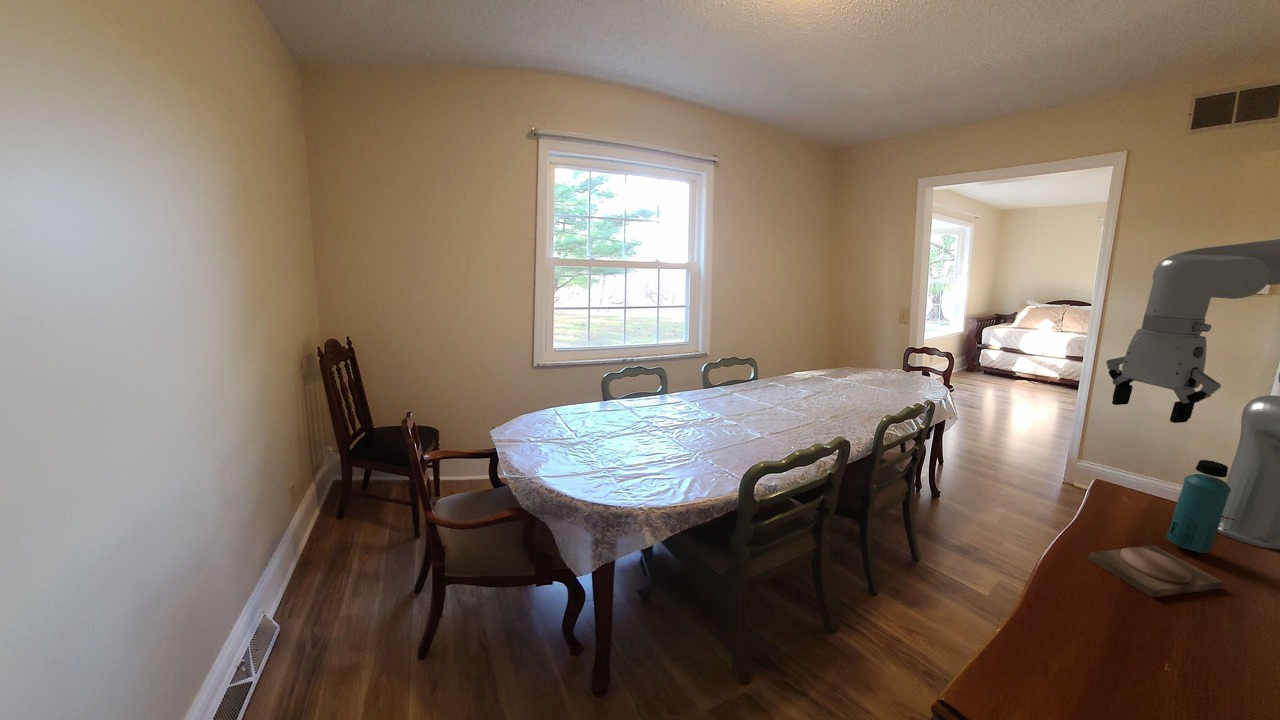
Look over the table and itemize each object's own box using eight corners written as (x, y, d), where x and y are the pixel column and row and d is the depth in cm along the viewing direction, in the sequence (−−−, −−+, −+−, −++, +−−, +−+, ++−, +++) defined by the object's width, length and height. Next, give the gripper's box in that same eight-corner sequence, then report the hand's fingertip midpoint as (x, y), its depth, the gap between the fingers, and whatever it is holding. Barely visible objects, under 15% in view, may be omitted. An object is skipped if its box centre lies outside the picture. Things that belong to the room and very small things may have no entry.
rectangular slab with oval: (1151, 551, 101) (1154, 542, 100) (1220, 588, 90) (1224, 577, 90) (1088, 558, 98) (1090, 549, 98) (1151, 597, 88) (1155, 586, 87)
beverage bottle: (1218, 561, 98) (1251, 472, 93) (1179, 557, 99) (1209, 468, 94) (1190, 542, 104) (1219, 457, 99) (1154, 538, 105) (1180, 454, 100)
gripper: (1251, 334, 81) (1221, 428, 86) (1134, 317, 98) (1114, 397, 102) (1215, 335, 80) (1187, 431, 85) (1103, 318, 97) (1084, 399, 101)
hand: (1147, 412), depth 93 cm, fingers open, 9 cm apart
